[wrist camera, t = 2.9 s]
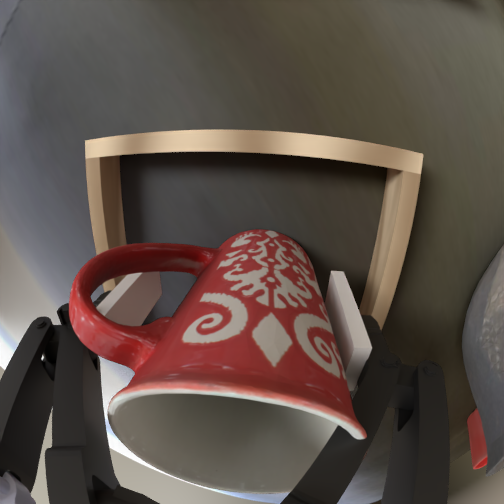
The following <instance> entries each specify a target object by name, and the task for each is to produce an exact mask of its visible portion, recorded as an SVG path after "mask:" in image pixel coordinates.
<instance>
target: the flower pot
mask: <svg viewBox="0 0 504 504" xmlns="http://www.w3.org/2000/svg"><path fill="white" fill-rule="evenodd" d="M467 424H468V431H469V439H470V447H471V455H472V463H473V468H474V469H478V468H481V467H483V466H485V465H487V447H486V441H485V437H484V432H483V428H482V423H481V418H480V415H479V412H478V409H477V408H476V409H475V410H474V412H472V413H471V414H470V416H469V417H468V420H467Z"/></svg>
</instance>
